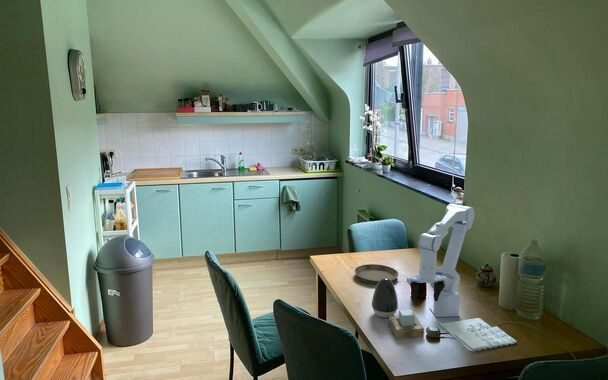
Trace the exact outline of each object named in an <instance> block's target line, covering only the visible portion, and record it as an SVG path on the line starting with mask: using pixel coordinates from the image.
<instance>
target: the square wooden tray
mask: <svg viewBox="0 0 608 380" xmlns="http://www.w3.org/2000/svg"><path fill="white" fill-rule="evenodd" d="M388 318H389V320H388V325H389V329H391V331H392V333H393V336H394V337H395V339H413V338H414V339H418V338H424V337H425V327H424V326H423V324H422V323H421V321H420V319H419V318H418V316H416V315H415V321H414V326H403V327H401V326H400V324H399V315H393V316H389V317H388Z"/></svg>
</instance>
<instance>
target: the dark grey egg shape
mask: <svg viewBox="0 0 608 380" xmlns="http://www.w3.org/2000/svg"><path fill="white" fill-rule="evenodd" d="M397 294H398V293H397V291H396V287H395V285H394V283H393V282H392V281H391V280H390V279H387V278H383V279H381V280H380V281H379V282H378V284H377V285H376V286H375V287H374V291H373V295H372V301H371V307H372V310H373V312H374V313H375V315H377V316H378V317H379V318H384V319H385V318H386V319H387V318H389V316H395V314H396V313H397V310H398V309H399V303H398V295H397Z"/></svg>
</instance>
